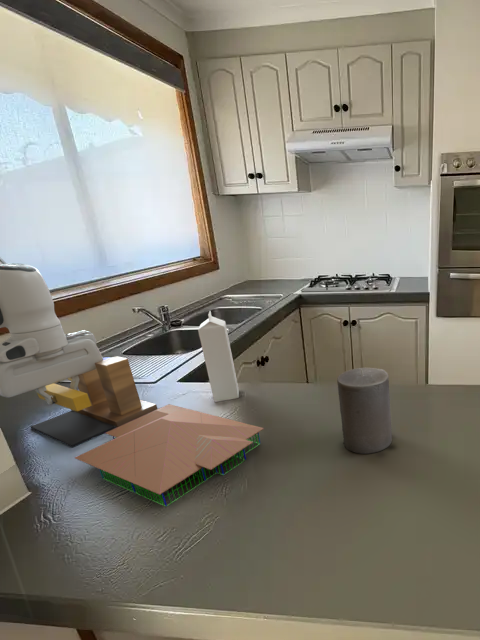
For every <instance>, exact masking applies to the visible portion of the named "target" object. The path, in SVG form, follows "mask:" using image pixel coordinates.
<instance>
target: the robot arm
mask: <svg viewBox="0 0 480 640" xmlns="http://www.w3.org/2000/svg"><path fill="white" fill-rule="evenodd" d="M54 302H55V301H54V299H53V296H52V294H51V291H50V289H49V287H48V284H47V282H46V281H45V279H44V277H43V275H42V274H41V272H40V271H39V270H38V269H37V268H36V267H35V266H32V265H31V264H27V263H26V264H25V263H14V262H13V263H7V262H6V261H5V260H4V259H3V258H2V257H0V329H2V328H6V329H7V330H8V331H9V335H10V337H9V338H7V339H5V340H3V341H1V342H0V396H1V397H4V398H6V399H8V398H9V399H10V398H13V397H16V396H19V395H22V394H25V393H28V392H31V391H35V393H36V394H37V393H39V394H40V395H42V396H43V397H45V400H44V401H45V402H46V404H47V405H49V406H51V405H55V404H54V403H57V400H56V396H55V395H52V394H51V395H48V394H47V393H45V392H44V391H46V390H47V389H46V386H47V385H50V384H53V383H54V384H57V383H58V382H62V381H64V380H68V381H69V382H70V384H69V388H71V389H74V390H78V383H79V377H78V375H80V374H83V373H86V372H89V371H92V370H95V369H96V366H95V363H96V362H99V361H102V360H103V358H104V357H103V355H102V353H101V351H100V349H99V347H98V346H97V343H98V342H97V339H96V336H95V334H94V333H93V332H91V331H87V330H85V329H84V330H79V331H77V332H71V333H65V331H64V328H63V325H62V322H61V319H59V318H58V317H57V314H56V311H55V303H54Z"/></svg>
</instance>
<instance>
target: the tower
mask: <svg viewBox="0 0 480 640" xmlns="http://www.w3.org/2000/svg"><path fill="white" fill-rule="evenodd" d="M95 366H96V369H95V370H92V371H89V372H86V373H83V374H80V375H78V377H79V383H78V386H77V389H78V391H81V392H84V393H87V394H88V397H89V400H90V403H91V405H92V406H90V407H87V408H85V409H82V410H80V411H74V410H71V409H70V411H74V412H77V413H79V414H82V415H85V416H88V417H90V418H93V419H96V420H99V421H101V422H104V423H107V424H110V425H112V426H115V428H117V427H119V426H122V425H124V424H126V423H128V422H130V421H133V420H135V419H137V418H139V417H141V416H144V415H146V414H148V413H150V412H153V411H155V410H157V409H159V408H158V404H156V403H153V402H150V401H146V400H143V399H141V398H140V396H139V395H140V394H139V392H138V389H137V385H136V382H135V379H134V376H133V375H134V374H133V371H132V368H131V365H130V361H129V358H127V357H123V356H122V357H121V356H117V355H115V356H112V357H110V358H109V359H106V360H102V361H99V362H96V363H95Z"/></svg>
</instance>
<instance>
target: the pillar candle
mask: <svg viewBox="0 0 480 640" xmlns="http://www.w3.org/2000/svg"><path fill="white" fill-rule="evenodd" d="M389 376H390V375H389V373H388V372H387V371H386V370H385V369H383V368H376V367H358V368H352V369H349V370H346V371H343V372H341V373H340V374H339V375H338V376H337V379H336V381H337V391H338V401H339V412H340V419H341V431H342V438H343V441H342V444H343V445H344V448H345V449H347V450H348V451H350V452H352V453H355V454H374V453H377V452H382V451H383V450H385V449H388V447H389V446H390V445H391V443H392V440H393V432H392V431H393V428H392V412H391V411H392V410H391V398H390V397H391V395H390V378H389Z"/></svg>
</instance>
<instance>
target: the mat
mask: <svg viewBox="0 0 480 640" xmlns="http://www.w3.org/2000/svg"><path fill="white" fill-rule="evenodd" d="M29 427H30V429H31V430H33V431H35V432H38V433H39V434H42V435H44V436H46V437H49V438H51V439H53V440H56V441H57V442H60V443H62V444H64V445H66V446H69V447H71V448H74V447H76V446H79V445H82V444H83V443H86V442H89V441H90V440H93V439H95V438H97V437H99V436H102V435H103V434H104V435H105V433H106V432H108V431H111V430H113V429H115V428H116V427H115V426H112V425H110V424H107V423H104V422H101V421H99V420H96V419H93V418H90V417H88V416H85V415H82V414H79V413H77V412H74V411H71V410H70V411H67V412H65V413H62V414H60V415H56V416H54V417H51V418H49V419H47V420H44V421H41V422H38V423H36V424H33V425H30V426H29Z"/></svg>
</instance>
